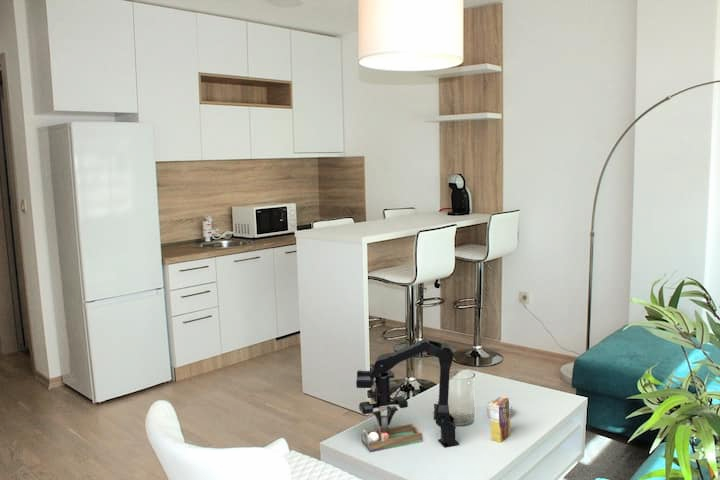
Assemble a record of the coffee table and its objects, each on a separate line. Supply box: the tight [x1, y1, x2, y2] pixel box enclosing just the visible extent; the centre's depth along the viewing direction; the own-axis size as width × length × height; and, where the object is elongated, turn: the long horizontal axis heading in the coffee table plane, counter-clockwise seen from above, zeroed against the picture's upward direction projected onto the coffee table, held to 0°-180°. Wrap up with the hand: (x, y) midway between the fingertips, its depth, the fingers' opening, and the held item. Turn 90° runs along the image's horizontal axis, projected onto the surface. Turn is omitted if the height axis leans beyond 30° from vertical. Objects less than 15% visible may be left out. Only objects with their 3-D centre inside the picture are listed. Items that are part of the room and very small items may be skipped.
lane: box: [361, 423, 423, 453], centre depth 242 cm, size 10×22×6 cm, turn 108°
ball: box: [369, 431, 379, 442], centre depth 239 cm, size 4×4×4 cm
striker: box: [378, 415, 389, 440], centre depth 240 cm, size 7×3×10 cm, turn 18°
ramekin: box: [485, 399, 513, 419], centre depth 261 cm, size 11×11×5 cm
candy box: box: [490, 396, 511, 443], centre depth 240 cm, size 9×4×15 cm, turn 140°
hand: (384, 425), depth 240 cm, fingers closed on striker, 3 cm apart
